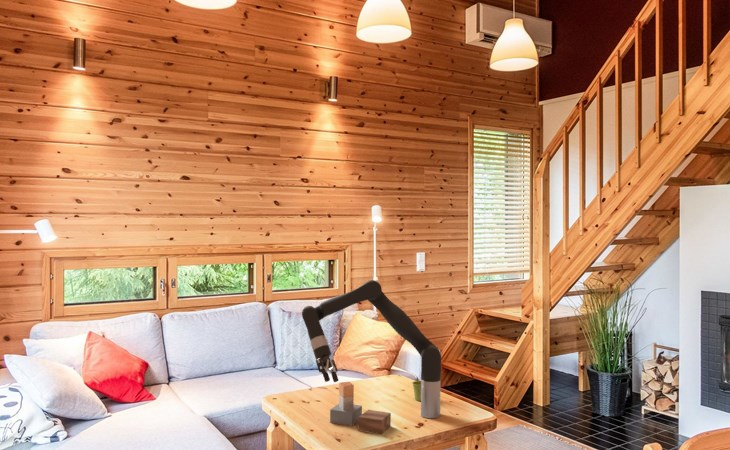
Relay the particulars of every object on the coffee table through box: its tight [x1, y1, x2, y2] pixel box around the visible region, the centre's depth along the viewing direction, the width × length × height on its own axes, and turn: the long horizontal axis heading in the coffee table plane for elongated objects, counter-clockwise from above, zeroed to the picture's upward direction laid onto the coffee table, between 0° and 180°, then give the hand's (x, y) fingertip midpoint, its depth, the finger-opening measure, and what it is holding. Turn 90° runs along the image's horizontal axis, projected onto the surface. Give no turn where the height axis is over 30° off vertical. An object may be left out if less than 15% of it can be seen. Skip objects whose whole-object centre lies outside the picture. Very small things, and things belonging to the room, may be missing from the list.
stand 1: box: [329, 403, 363, 427], centre depth 276 cm, size 11×11×6 cm
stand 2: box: [357, 409, 392, 435], centre depth 265 cm, size 11×11×6 cm
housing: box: [338, 381, 355, 410], centre depth 276 cm, size 5×6×11 cm
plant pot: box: [411, 380, 421, 402], centre depth 308 cm, size 9×9×9 cm
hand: (332, 381), depth 266 cm, fingers open, 8 cm apart
